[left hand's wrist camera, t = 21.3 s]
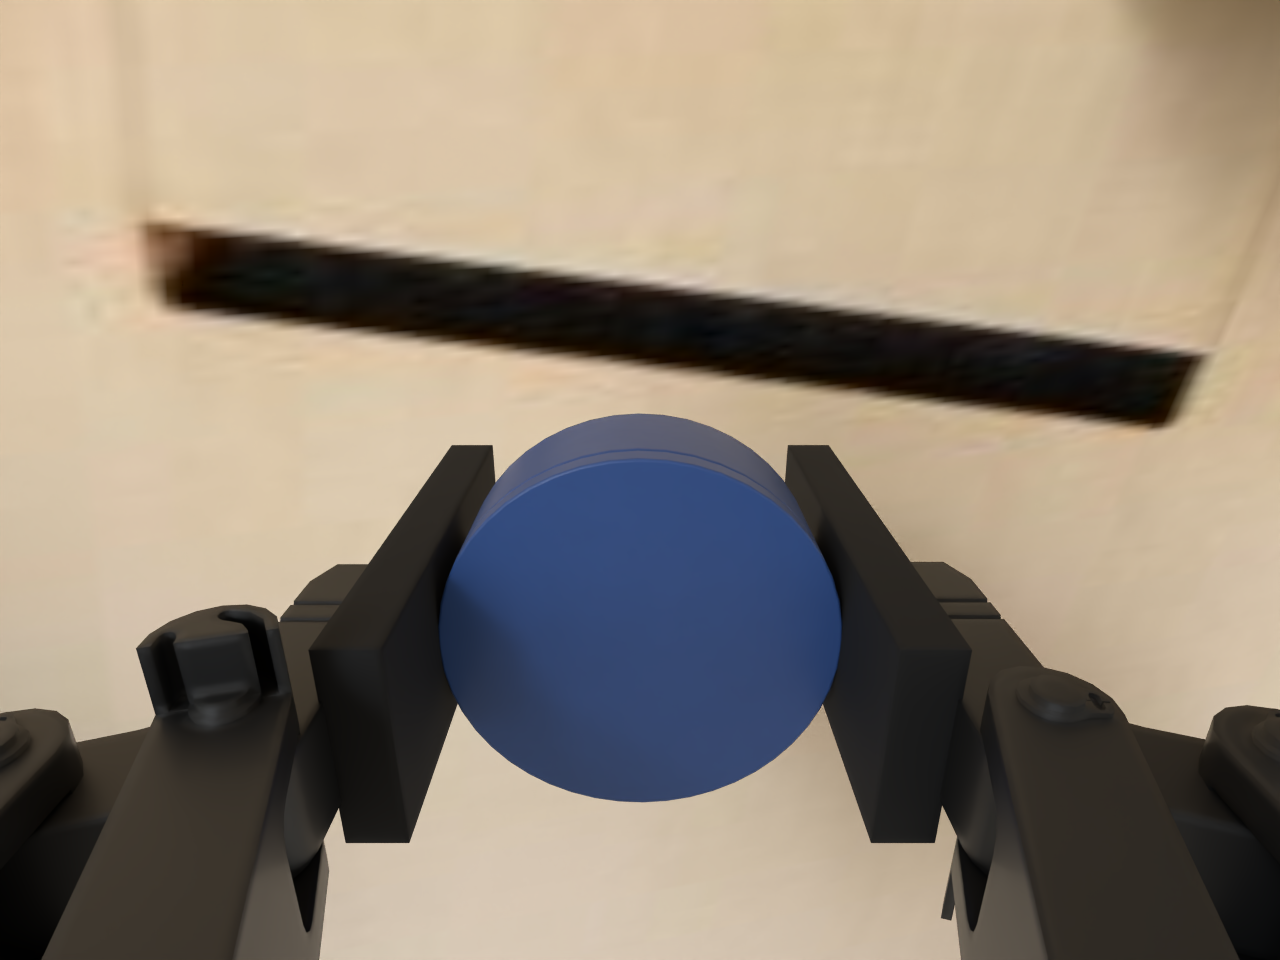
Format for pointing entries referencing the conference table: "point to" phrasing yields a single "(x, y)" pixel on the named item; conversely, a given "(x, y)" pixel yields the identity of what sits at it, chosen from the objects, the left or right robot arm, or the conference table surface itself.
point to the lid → (640, 612)
